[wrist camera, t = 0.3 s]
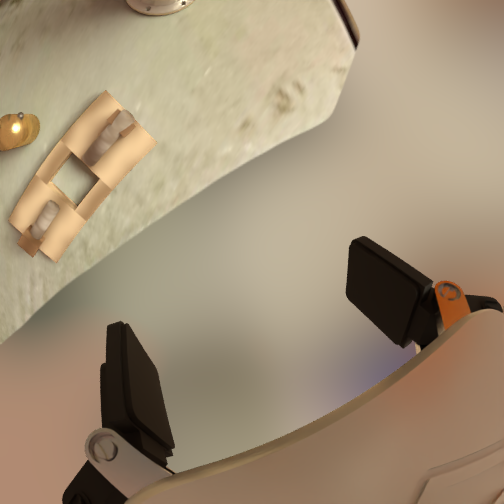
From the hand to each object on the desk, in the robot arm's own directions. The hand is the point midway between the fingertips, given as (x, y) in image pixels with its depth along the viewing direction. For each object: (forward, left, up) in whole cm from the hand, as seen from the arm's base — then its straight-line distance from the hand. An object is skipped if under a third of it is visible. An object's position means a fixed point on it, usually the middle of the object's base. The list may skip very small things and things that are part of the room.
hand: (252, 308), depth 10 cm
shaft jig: (-10, -12, -36) cm, 39 cm away
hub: (-23, -12, -36) cm, 44 cm away
